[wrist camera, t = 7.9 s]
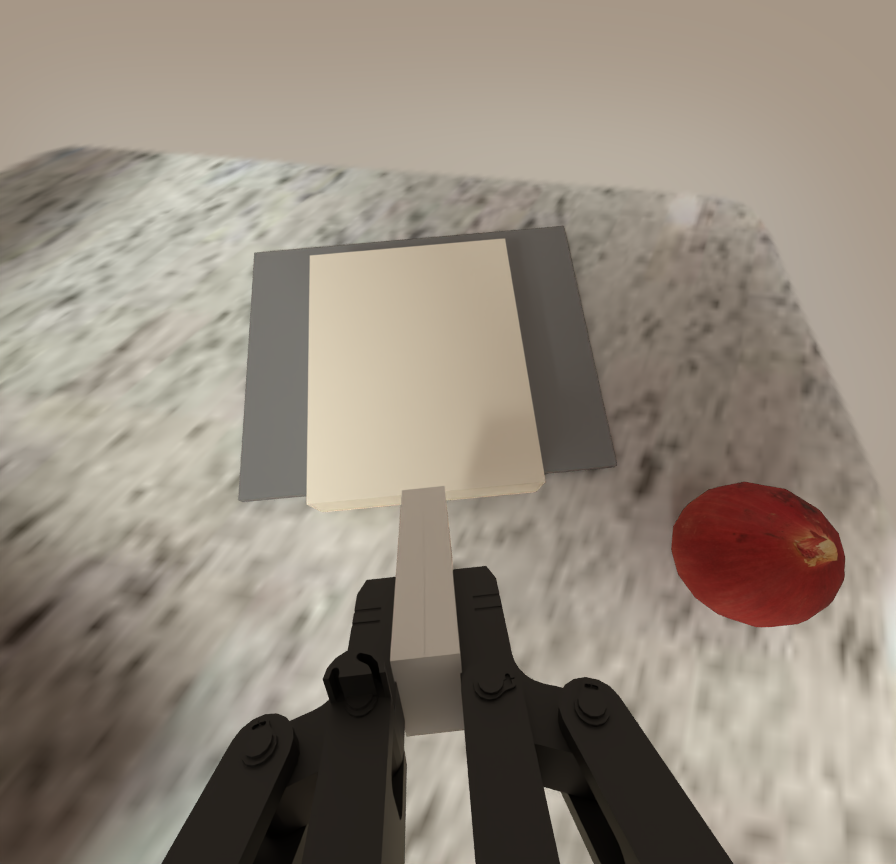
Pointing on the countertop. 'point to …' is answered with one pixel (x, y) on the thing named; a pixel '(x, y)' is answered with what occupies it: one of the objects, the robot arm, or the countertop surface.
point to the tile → (417, 377)
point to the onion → (758, 554)
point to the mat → (543, 336)
